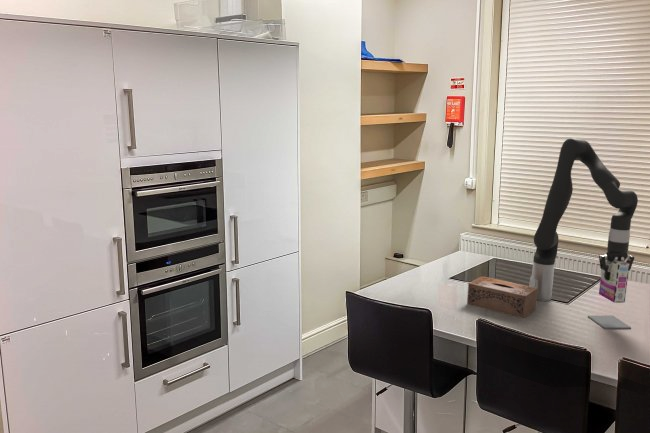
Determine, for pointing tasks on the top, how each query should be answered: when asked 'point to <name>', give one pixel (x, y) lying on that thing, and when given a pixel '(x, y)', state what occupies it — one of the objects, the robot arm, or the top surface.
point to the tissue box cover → (502, 296)
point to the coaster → (609, 322)
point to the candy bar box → (615, 282)
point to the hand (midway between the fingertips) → (613, 279)
